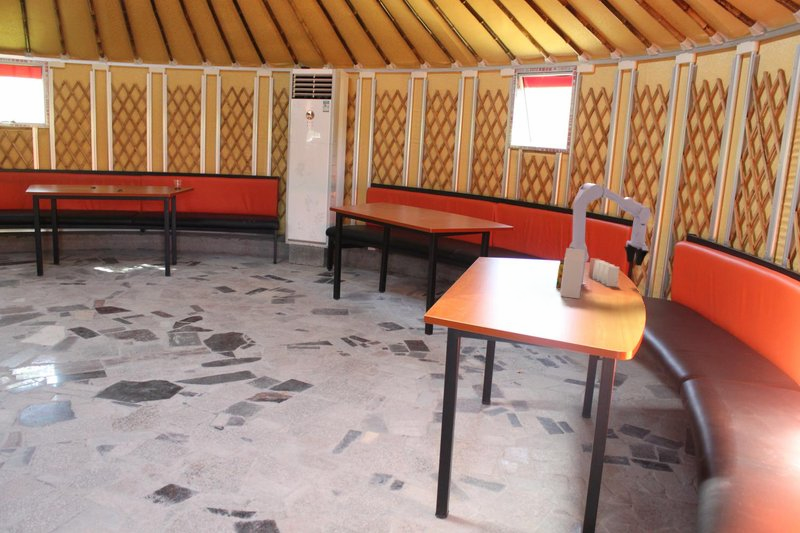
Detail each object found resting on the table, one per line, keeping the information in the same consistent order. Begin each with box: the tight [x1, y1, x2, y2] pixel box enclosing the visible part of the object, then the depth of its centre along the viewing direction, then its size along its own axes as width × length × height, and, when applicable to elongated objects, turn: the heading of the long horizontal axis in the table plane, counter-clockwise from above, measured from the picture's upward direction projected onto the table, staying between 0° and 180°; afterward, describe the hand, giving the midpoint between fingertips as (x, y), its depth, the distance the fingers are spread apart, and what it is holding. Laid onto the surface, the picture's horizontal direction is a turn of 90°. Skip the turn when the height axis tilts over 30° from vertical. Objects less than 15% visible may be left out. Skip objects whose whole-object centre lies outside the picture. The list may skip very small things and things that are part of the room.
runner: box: [586, 275, 620, 288], centre depth 289 cm, size 23×6×1 cm, turn 7°
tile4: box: [593, 260, 606, 279], centre depth 293 cm, size 1×4×8 cm, turn 97°
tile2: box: [601, 264, 616, 285], centre depth 284 cm, size 1×4×8 cm, turn 97°
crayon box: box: [555, 259, 564, 289], centre depth 268 cm, size 7×3×12 cm, turn 73°
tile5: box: [587, 258, 602, 277], centre depth 298 cm, size 1×4×8 cm, turn 97°
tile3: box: [597, 262, 611, 281], centre depth 288 cm, size 1×4×8 cm, turn 97°
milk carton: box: [559, 247, 585, 299], centre depth 253 cm, size 7×7×19 cm
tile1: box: [605, 266, 620, 287], centre depth 279 cm, size 1×4×8 cm, turn 97°
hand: (634, 263), depth 282 cm, fingers open, 7 cm apart
